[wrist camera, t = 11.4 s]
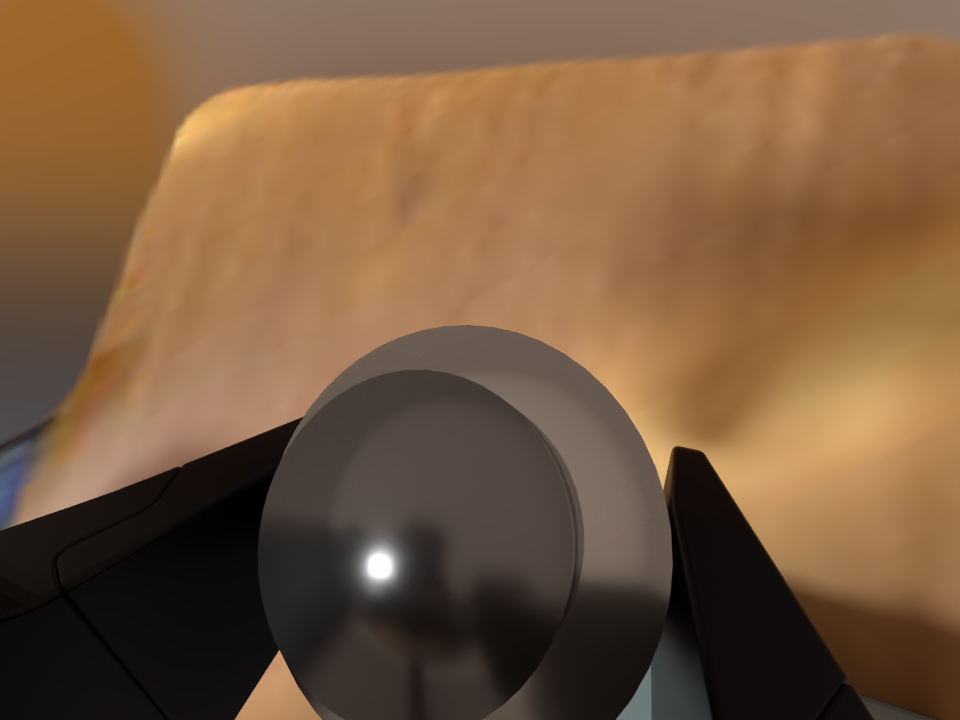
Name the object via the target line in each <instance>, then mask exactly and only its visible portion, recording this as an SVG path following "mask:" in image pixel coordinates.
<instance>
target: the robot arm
mask: <svg viewBox="0 0 960 720" xmlns="http://www.w3.org/2000/svg"><path fill="white" fill-rule="evenodd" d="M302 419H303V417H302V418H299V419H297V420H294V421H292V422H289V423H287V424H284V425H282V426H279V427H277V428H274V429H272V430H269V431H267V432H264V433H262V434H259V435H256V436H254V437H251V438H249V439H246V440H244V441H241V442H239V443H236V444H234V445H231V446H229V447H226V448H224V449H221V450H219V451H216V452H214V453H211V454H209V455H206V456H204V457H201V458H199V459H196V460H194V461H191V462H189V463H186V464H184V465H183V466H182V468H181V467H176V468H173V469H171V470H168V471H166V472H163V473H161V474H158V475H156V476H153V477H151V478H148V479H145V480H143V481H140V482H138V483H135V484H132V485H130V486H127V487H125V488H122V489H119V490H117V491H114V492H111V493H108V494H106V495H103V496H100V497H97V498H94V499H91V500H89V501H86V502H83V503H80V504H77V505H74V506H72V507H69V508H66V509H63V510H60V511H57V512H54V513H51V514H48V515H45V516H42V517H39V518H36V519H34V520H31V521H28V522H25V523H22V524H19V525H16V526H13V527H10V528H7V529H4V530H1V531H0V720H235V718H236V717H237V715H238V713H239V712H240V710H241V709H242V707H243V706H244V704H245V702H246V701H247V699H248V698H249V696H250V695H251V693H252V692H253V690H254V688H255V687H256V685H257V684H258V682H259V681H260V679H261V678H262V676H263V674H264V673H265V671H266V670H267V668H268V667H269V665H270V663H271V662H272V660H273V659H274V657H275V656H276V654H277V653H278V651H279V648H278V646H277V644H276V642H275V640H274V637H273V634H272V632H271V629H270V626H269V624H268V621H267V617H266V613H265V609H264V605H263V602H262V597H261V590H260V583H259V574H258V543H259V531H260V525H261V519H262V513H263V509H264V505H265V501H266V498H267V494H268V490H269V488H270V485H271V483H272V480H273V477H274V475H275V472H276V470H277V468H278V466H279V464H280V462H281V459H282V457H283V454H284V451H285V449H286V447H287V445H288V443H289V441H290V440H291V438H292V436H293V434H294V432H295V430H296V428H297V426H298V425H299V423H300V422H301V420H302ZM663 492H664V496H665V499H666V505H667V511H668V517H669V522H670V528H671V540H672V563H673V568H672V579H671V590H670V601H669V606H668V610H667V614H666V619H665V623H664V628H663V632H662V636H661V639H660V641H659V644H658V646H657V649H656V652H655V654H654V657H653V660H652V662H651V720H874V718H873V717H872V715H871V714H870V712H869V710H868V709H867V707H866V706H865V704H864V703H863V701H862V699H861V698H860V696H859V695H858V693H857V692H856V690H855V688H854V687H853V686H852V685H851V684H848V683H846V684H845V682H846V680H847V677H846V675H845V673H844V672H843V670H842V669H841V667H840V665H839V664H838V662H837V661H836V659H835V658H834V656H833V654H832V653H831V651H830V650H829V648H828V647H827V645H826V643H825V642H824V640H823V639H822V637H821V636H820V634H819V632H818V631H817V629H816V628H815V626H814V625H813V623H812V622H811V620H810V618H809V617H808V615H807V614H806V612H805V611H804V609H803V607H802V606H801V604H800V603H799V601H798V600H797V598H796V596H795V595H794V593H793V592H792V590H791V589H790V587H789V585H788V584H787V582H786V581H785V579H784V578H783V576H782V575H781V573H780V571H779V570H778V568H777V567H776V565H775V564H774V562H773V560H772V559H771V557H770V556H769V554H768V553H767V551H766V549H765V548H764V546H763V545H762V543H761V542H760V540H759V538H758V537H757V535H756V534H755V532H754V531H753V529H752V527H751V526H750V524H749V523H748V521H747V520H746V518H745V517H744V515H743V513H742V512H741V510H740V509H739V507H738V506H737V504H736V502H735V501H734V499H733V498H732V496H731V495H730V493H729V491H728V490H727V488H726V487H725V485H724V484H723V482H722V480H721V479H720V477H719V476H718V474H717V473H716V471H715V470H714V468H713V466H712V465H711V463H710V462H709V460H708V459H707V457H706V455H705V454H704V453H703V452H702V451H699V450H695V449H690V448H685V447H680V446H676V447H674V448H673V449H672V452H671V456H670V461H669V466H668V470H667V475H666V480H665V484H664V490H663Z"/></svg>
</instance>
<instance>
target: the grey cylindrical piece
mask: <svg viewBox="0 0 960 720" xmlns="http://www.w3.org/2000/svg"><path fill="white" fill-rule="evenodd" d="M672 568H673V563H672V540H671V528H670V522H669V517H668V511H667V505H666V499H665V496H664V492H663V489H662V486H661V483H660V480H659V476H658V473H657V470H656V467H655V465H654V462H653V460H652V458H651V456H650V454H649V452H648V449H647V447H646V445H645V443H644V441H643V439H642V437H641V435H640V433H639V432H638V430H637V429H636V427H635V425H634V424H633V422H632V421H631V419H630V418H629V416H628V414H627V413H626V411H625V410H624V409H623V408H622V406H621V405H620V404H619V403H618V402H617V400H616V399H615V398H614V397H613V395H612V394H611V393H610V392H609V391H608V389H607V388H606V387H605V386H603V385H602V384H601V383H600V382H599V381H598V380H597V379H596V378H595V377H594V376H593V375H592V374H591V373H590V372H588V371H587V370H586V369H585V368H584V367H582V366H581V365H579V364H578V363H577V362H575V361H574V360H572V359H571V358H570V357H568V356H567V355H565V354H564V353H562V352H560V351H558V350H556V349H554V348H553V347H551V346H549V345H547V344H545V343H543V342H541V341H539V340H536V339H533V338H530V337H528V336H525V335H522V334H520V333H517V332H512V331H508V330H503V329H499V328H494V327H485V326H473V325H461V326H444V327H438V328H433V329H427V330H422V331H419V332H415V333H412V334H409V335H406V336H403V337H400V338H398V339H395V340H393V341H391V342H389V343H387V344H384V345H382V346H380V347H378V348H377V349H375V350H373V351H372V352H370V353H368V354H367V355H365V356H363V357H362V358H360V359H359V360H357V361H356V362H355V363H354V364H352V365H351V366H350V367H349V368H347V369H346V370H345V371H343V372H342V373H341V374H340V375H339V376H338V377H337V378H336V379H335V380H334V381H333V382H332V383H331V384H330V385H329V386H328V387H327V388H326V389H325V390H324V391H323V392H322V393H321V395H320V396H319V397H318V398H317V399H316V401H315V402H314V403H313V404H312V406H311V407H310V408H309V409H308V411H307V413H306V414H305V416H304V417H303V419H302V420H301V422H300V423H299V425H298V426H297V428H296V430H295V432H294V434H293V436H292V438H291V440H290V441H289V443H288V445H287V447H286V449H285V451H284V454H283V457H282V459H281V462H280V464H279V466H278V468H277V470H276V472H275V475H274V477H273V480H272V483H271V485H270V488H269V490H268V494H267V498H266V501H265V505H264V509H263V513H262V519H261V525H260V531H259V543H258V574H259V583H260V590H261V597H262V602H263V605H264V609H265V613H266V617H267V621H268V624H269V626H270V629H271V632H272V634H273V637H274V640H275V642H276V644H277V646H278V648H279V650H280V652H281V654H282V656H283V658H284V660H285V662H286V664H287V666H288V668H289V670H290V672H291V673H292V675H293V677H294V679H295V681H296V683H297V685H298V687H299V688H300V690H301V691H302V693H303V694H304V696H305V697H306V699H307V700H308V702H309V703H310V705H311V706H312V708H313V709H314V710H315V712H316V713H317V714H318V715H319V716H320V717H321V718H322V720H616V719H617V718H618V716H619V715H620V714H621V713H622V711H623V710H624V709H625V707H626V706H627V705H628V704H629V702H630V701H631V700H632V698H633V696H634V695H635V693H636V691H637V689H638V687H639V686H640V684H641V682H642V680H643V679H644V677H645V675H646V673H647V671H648V670H649V667H650V665H651V662H652V660H653V657H654V654H655V652H656V649H657V646H658V644H659V641H660V639H661V636H662V632H663V628H664V623H665V619H666V614H667V610H668V606H669V601H670V590H671V579H672Z"/></svg>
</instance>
